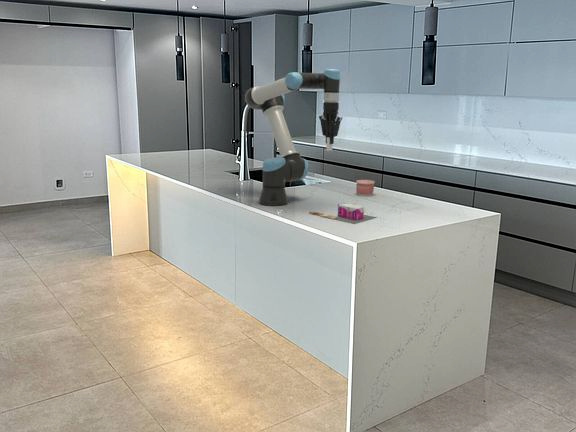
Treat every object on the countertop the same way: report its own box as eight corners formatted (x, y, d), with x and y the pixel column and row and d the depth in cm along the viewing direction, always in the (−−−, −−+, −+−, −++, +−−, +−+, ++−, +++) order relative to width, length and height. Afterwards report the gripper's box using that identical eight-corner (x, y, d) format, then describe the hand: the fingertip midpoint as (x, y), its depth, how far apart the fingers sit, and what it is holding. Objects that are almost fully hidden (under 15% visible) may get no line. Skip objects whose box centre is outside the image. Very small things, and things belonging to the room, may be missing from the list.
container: (363, 197, 312) (364, 183, 310) (351, 194, 321) (352, 180, 319) (377, 195, 318) (378, 181, 316) (365, 192, 326) (366, 179, 324)
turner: (307, 214, 268) (307, 211, 268) (311, 213, 270) (311, 211, 270) (333, 219, 258) (333, 216, 258) (337, 218, 260) (337, 215, 260)
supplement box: (337, 204, 262) (356, 208, 254) (345, 202, 266) (364, 206, 259) (337, 216, 264) (356, 220, 256) (344, 214, 268) (364, 218, 260)
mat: (331, 219, 259) (331, 218, 258) (354, 213, 272) (354, 212, 272) (354, 224, 250) (354, 223, 250) (376, 218, 263) (376, 217, 263)
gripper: (315, 101, 271) (314, 149, 276) (337, 102, 262) (335, 152, 268) (325, 101, 276) (323, 148, 281) (346, 102, 268) (344, 151, 273)
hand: (329, 150), depth 275 cm, fingers closed
